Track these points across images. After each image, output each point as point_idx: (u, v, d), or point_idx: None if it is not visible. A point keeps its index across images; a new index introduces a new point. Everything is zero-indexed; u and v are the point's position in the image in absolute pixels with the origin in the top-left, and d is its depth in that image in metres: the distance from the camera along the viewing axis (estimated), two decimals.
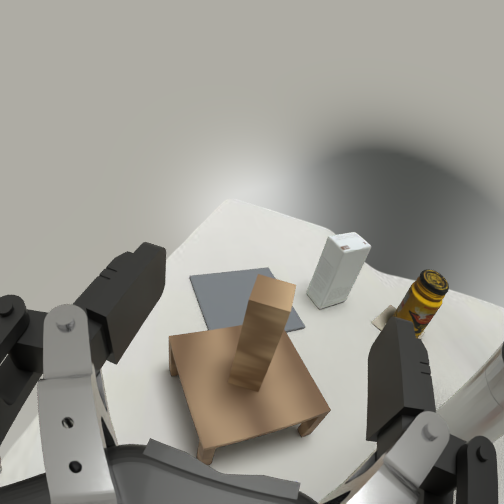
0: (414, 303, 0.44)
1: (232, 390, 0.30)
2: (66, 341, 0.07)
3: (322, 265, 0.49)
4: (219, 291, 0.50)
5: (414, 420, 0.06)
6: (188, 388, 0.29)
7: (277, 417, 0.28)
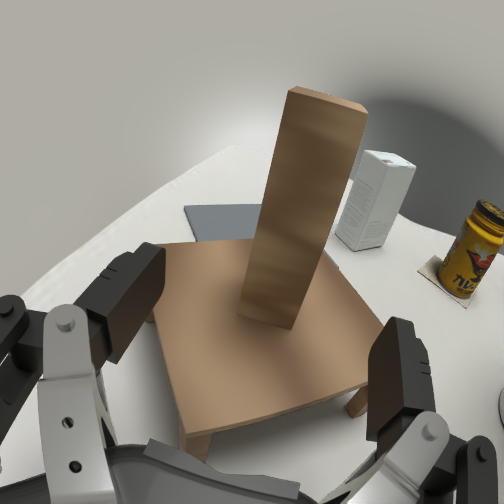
0: (474, 239, 0.32)
1: (244, 326, 0.17)
2: (66, 340, 0.07)
3: (356, 190, 0.37)
4: (222, 222, 0.38)
5: (414, 420, 0.06)
6: (164, 320, 0.17)
7: (328, 373, 0.16)
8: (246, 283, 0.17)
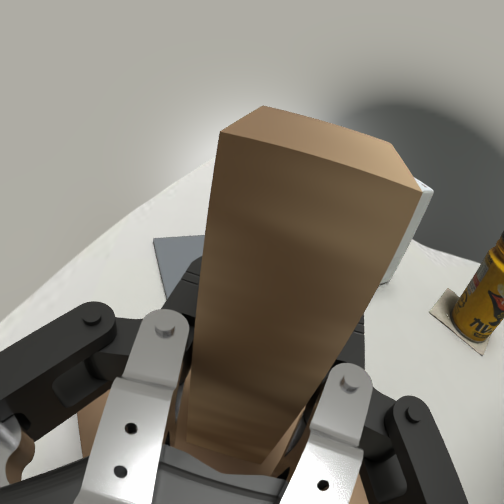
0: (497, 279, 0.25)
1: None
2: (159, 347, 0.07)
3: None
4: None
5: (331, 369, 0.07)
6: None
7: None
8: (191, 421, 0.10)
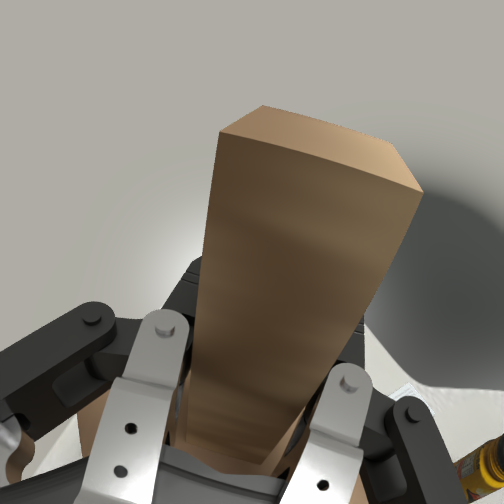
0: (478, 484, 0.18)
1: None
2: (159, 347, 0.07)
3: None
4: None
5: (331, 369, 0.07)
6: (91, 449, 0.10)
7: None
8: (191, 422, 0.10)
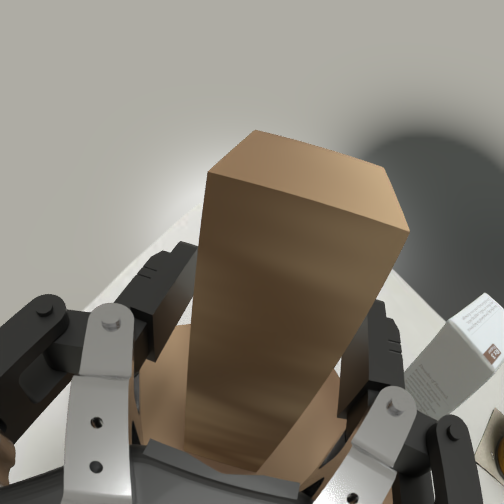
0: None
1: None
2: (109, 339, 0.07)
3: (413, 384, 0.16)
4: None
5: (378, 394, 0.07)
6: None
7: None
8: (188, 432, 0.10)
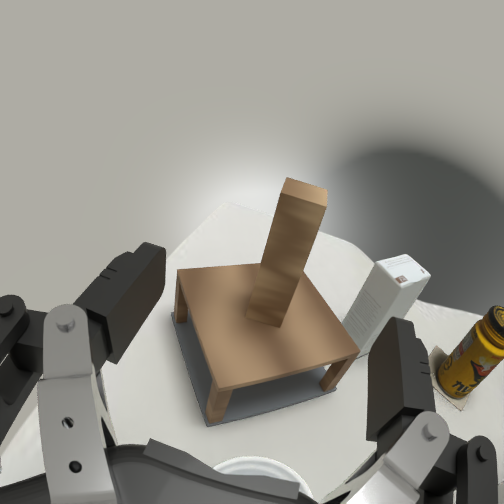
0: (480, 352, 0.28)
1: (250, 325, 0.28)
2: (66, 341, 0.07)
3: (362, 302, 0.33)
4: None
5: (414, 420, 0.06)
6: (200, 321, 0.27)
7: (303, 355, 0.26)
8: (252, 298, 0.27)
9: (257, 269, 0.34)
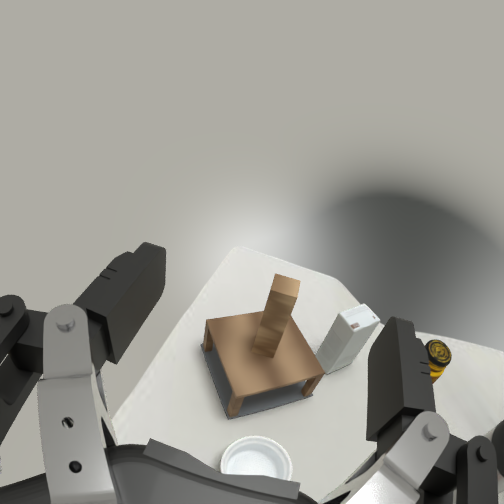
0: None
1: (254, 357, 0.43)
2: (66, 341, 0.07)
3: (331, 337, 0.49)
4: None
5: (414, 420, 0.06)
6: (223, 355, 0.43)
7: (287, 375, 0.42)
8: (255, 342, 0.43)
9: (259, 316, 0.50)
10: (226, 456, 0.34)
